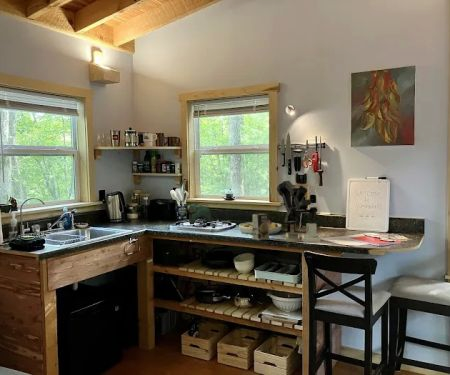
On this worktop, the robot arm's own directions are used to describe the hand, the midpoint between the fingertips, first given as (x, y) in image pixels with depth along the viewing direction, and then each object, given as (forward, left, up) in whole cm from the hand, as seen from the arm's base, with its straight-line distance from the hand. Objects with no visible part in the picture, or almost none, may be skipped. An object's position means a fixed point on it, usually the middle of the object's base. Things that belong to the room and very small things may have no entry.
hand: (306, 221), depth 269 cm
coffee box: (+19, -22, -11) cm, 31 cm away
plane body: (+8, -5, -10) cm, 14 cm away
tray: (+5, +6, -10) cm, 13 cm away
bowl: (-4, -38, -11) cm, 40 cm away
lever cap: (+5, +6, -10) cm, 13 cm away
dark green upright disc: (-1, -93, -11) cm, 94 cm away
